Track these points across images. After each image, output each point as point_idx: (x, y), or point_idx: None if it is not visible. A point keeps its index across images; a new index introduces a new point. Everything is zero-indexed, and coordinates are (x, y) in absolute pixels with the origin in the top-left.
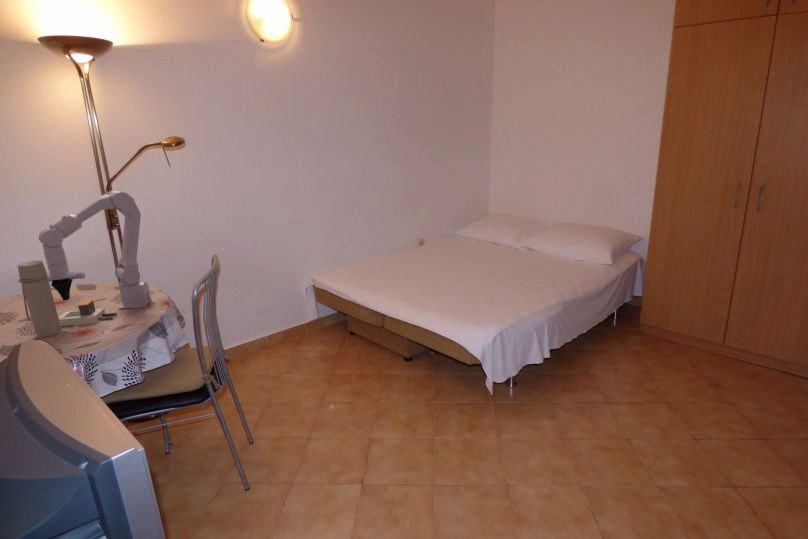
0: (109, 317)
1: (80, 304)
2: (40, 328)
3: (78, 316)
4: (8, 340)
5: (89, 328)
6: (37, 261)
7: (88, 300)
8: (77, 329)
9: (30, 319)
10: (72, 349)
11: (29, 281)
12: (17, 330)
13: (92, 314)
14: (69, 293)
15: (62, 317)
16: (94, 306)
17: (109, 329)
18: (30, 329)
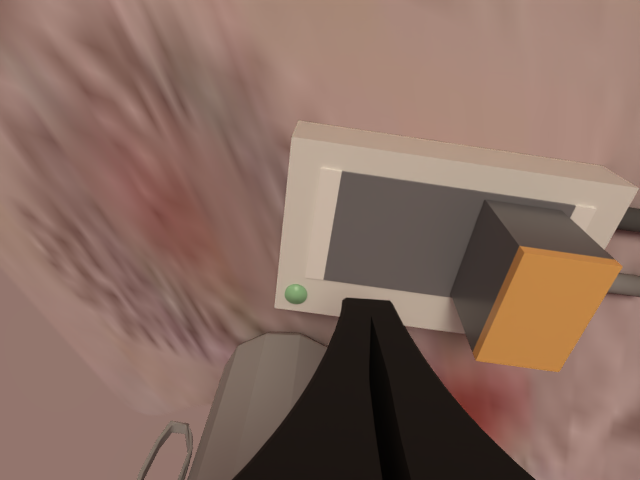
0: (630, 294)
1: (494, 355)
2: None
3: (434, 302)
4: (104, 373)
5: (493, 372)
6: None
7: (572, 267)
8: (427, 362)
9: (168, 431)
10: None
11: None
12: (45, 250)
13: None
14: (410, 343)
15: (316, 280)
16: (579, 230)
17: (597, 418)
18: (127, 263)
